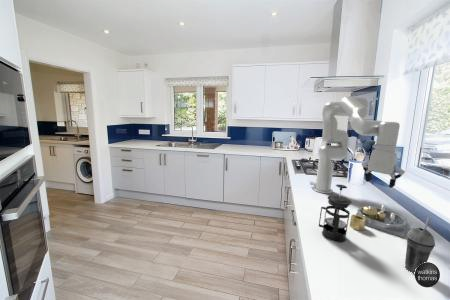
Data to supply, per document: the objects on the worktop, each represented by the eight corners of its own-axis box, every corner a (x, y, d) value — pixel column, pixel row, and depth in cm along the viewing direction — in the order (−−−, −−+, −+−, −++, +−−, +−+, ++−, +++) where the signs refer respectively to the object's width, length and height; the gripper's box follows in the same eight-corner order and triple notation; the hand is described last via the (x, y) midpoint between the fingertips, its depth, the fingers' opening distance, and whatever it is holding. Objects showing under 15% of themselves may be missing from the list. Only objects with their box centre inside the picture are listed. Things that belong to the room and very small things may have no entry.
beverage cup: (394, 263, 78) (405, 211, 75) (413, 263, 79) (424, 211, 76) (413, 278, 71) (426, 222, 68) (433, 278, 72) (447, 222, 68)
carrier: (352, 221, 109) (354, 207, 107) (361, 209, 123) (363, 197, 122) (403, 238, 95) (406, 222, 94) (406, 222, 110) (409, 209, 109)
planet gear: (348, 227, 102) (350, 217, 101) (351, 223, 106) (353, 213, 106) (362, 232, 99) (364, 221, 98) (364, 227, 103) (366, 217, 102)
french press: (347, 234, 96) (355, 184, 92) (348, 245, 88) (357, 191, 84) (318, 226, 101) (325, 179, 97) (317, 236, 93) (324, 185, 89)
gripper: (361, 146, 105) (356, 180, 108) (405, 152, 91) (397, 191, 94) (368, 145, 109) (363, 178, 112) (411, 151, 95) (404, 188, 98)
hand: (379, 184), depth 103 cm, fingers open, 9 cm apart
